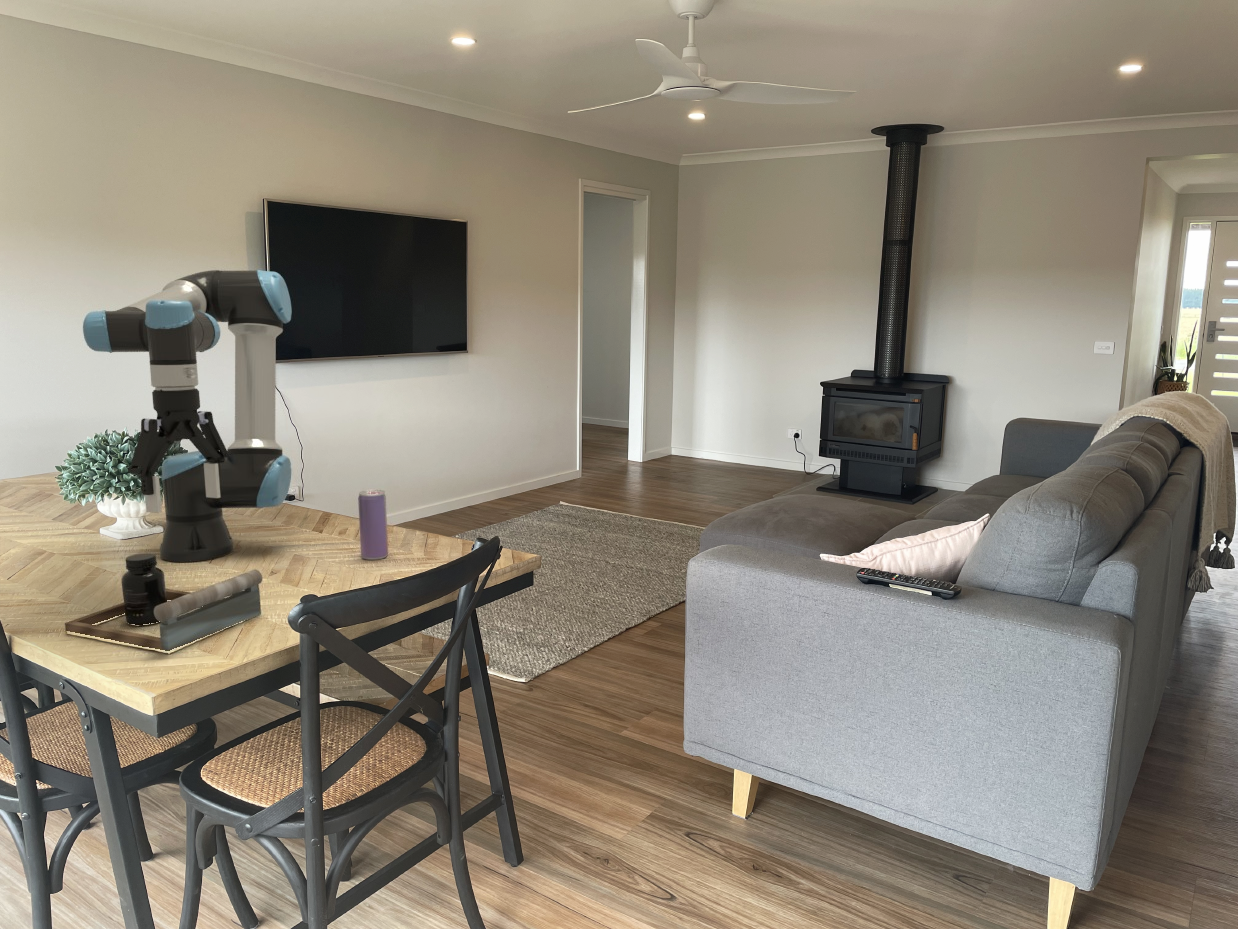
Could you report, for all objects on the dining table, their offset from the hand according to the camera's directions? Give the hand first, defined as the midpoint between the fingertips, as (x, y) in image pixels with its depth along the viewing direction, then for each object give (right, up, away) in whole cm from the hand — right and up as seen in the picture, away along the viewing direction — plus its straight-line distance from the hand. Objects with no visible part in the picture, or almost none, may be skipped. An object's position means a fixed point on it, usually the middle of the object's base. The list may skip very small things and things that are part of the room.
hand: (184, 504), depth 160 cm
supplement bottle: (-6, -21, -1) cm, 22 cm away
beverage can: (+24, -14, +39) cm, 48 cm away
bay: (-1, -21, -3) cm, 21 cm away
